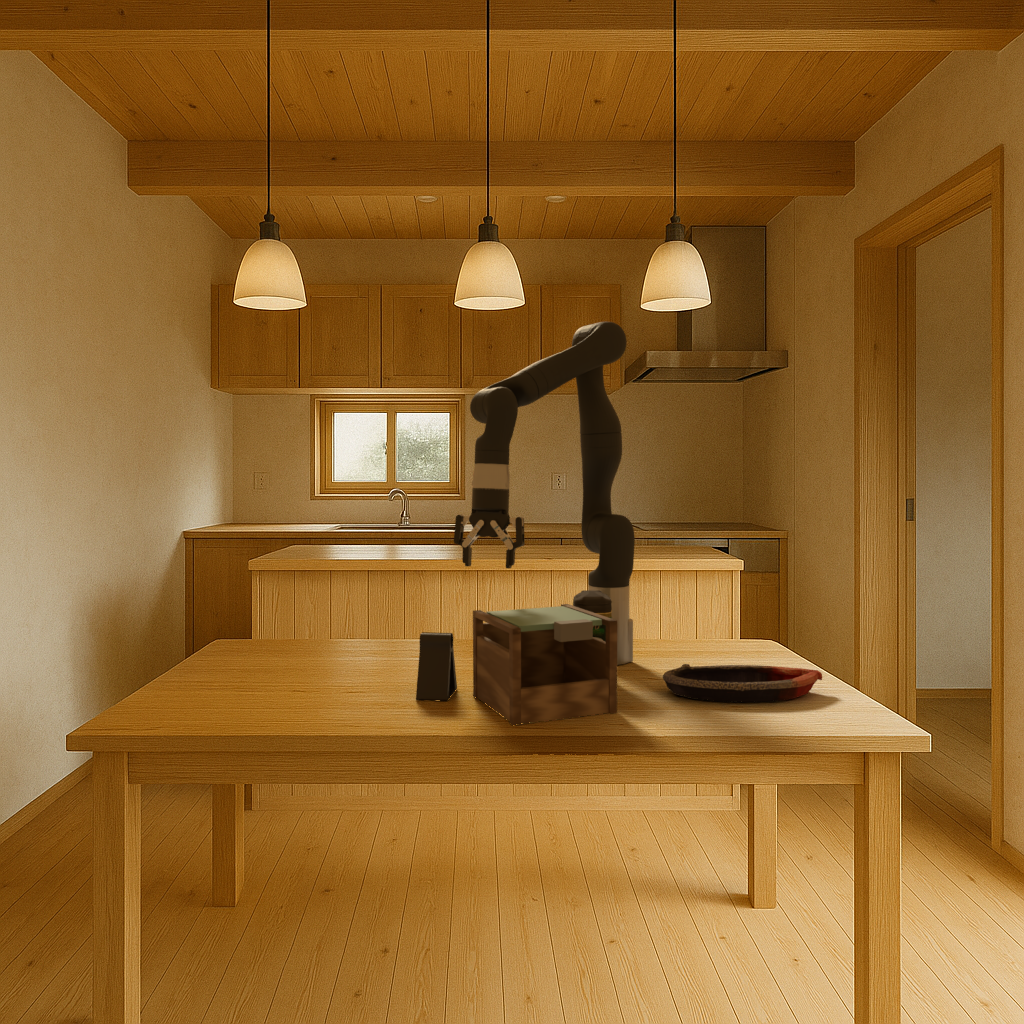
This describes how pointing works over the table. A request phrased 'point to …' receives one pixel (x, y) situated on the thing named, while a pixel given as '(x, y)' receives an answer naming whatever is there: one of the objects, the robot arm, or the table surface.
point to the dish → (740, 682)
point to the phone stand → (436, 667)
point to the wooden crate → (543, 671)
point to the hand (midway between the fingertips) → (488, 567)
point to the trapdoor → (552, 621)
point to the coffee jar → (595, 608)
